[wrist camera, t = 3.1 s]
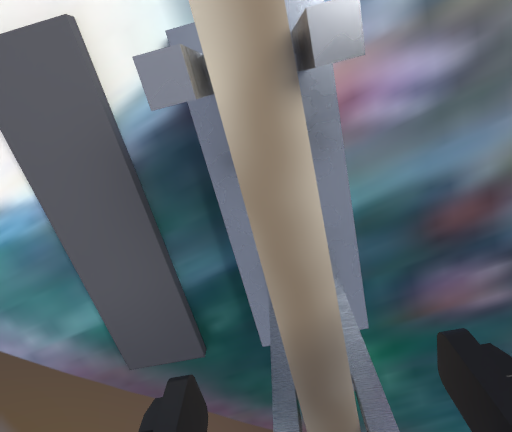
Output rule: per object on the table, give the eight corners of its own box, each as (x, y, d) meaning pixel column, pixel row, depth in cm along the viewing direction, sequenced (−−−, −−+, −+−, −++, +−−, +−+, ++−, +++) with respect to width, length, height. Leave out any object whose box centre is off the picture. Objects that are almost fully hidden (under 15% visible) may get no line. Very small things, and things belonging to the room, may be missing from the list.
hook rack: (317, -9, 21) (412, -156, 8) (363, 317, 31) (437, 487, 18) (171, 33, 22) (40, -34, 9) (262, 335, 32) (263, 508, 19)
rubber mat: (73, 16, 21) (65, 14, 20) (206, 349, 33) (204, 356, 32) (-32, 48, 22) (-44, 47, 21) (133, 362, 34) (129, 370, 33)
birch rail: (270, -30, 12) (273, -62, 10) (352, 413, 22) (365, 460, 19) (197, -8, 13) (179, -33, 10) (310, 419, 23) (317, 467, 20)
